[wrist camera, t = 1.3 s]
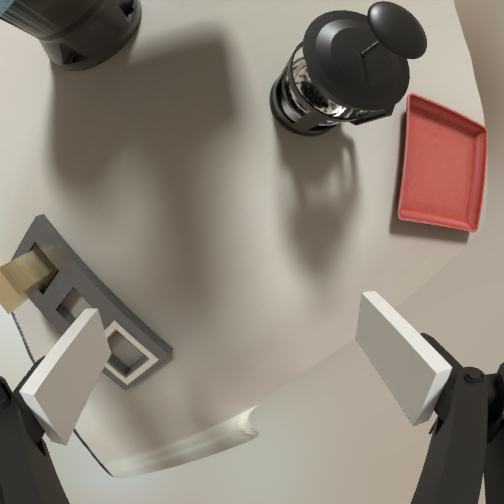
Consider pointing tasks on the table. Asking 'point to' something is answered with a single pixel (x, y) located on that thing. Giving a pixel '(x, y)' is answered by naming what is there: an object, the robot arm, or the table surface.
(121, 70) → the table surface
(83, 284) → the grey flat slotted block
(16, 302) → the peg
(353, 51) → the french press
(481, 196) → the red serving tray
